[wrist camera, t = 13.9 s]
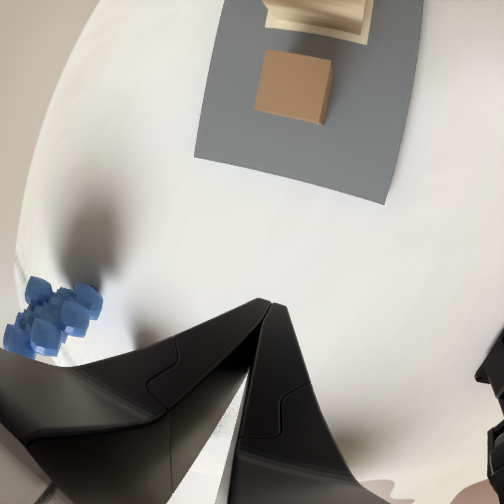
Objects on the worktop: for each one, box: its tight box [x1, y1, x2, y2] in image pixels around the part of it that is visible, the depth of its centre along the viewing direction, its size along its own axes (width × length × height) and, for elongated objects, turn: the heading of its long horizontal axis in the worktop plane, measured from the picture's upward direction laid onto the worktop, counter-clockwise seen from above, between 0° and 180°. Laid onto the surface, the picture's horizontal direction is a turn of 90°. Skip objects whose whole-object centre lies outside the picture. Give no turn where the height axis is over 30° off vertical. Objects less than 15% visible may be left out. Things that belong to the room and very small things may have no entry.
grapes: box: [3, 276, 103, 360], centre depth 22 cm, size 12×7×12 cm, turn 110°
